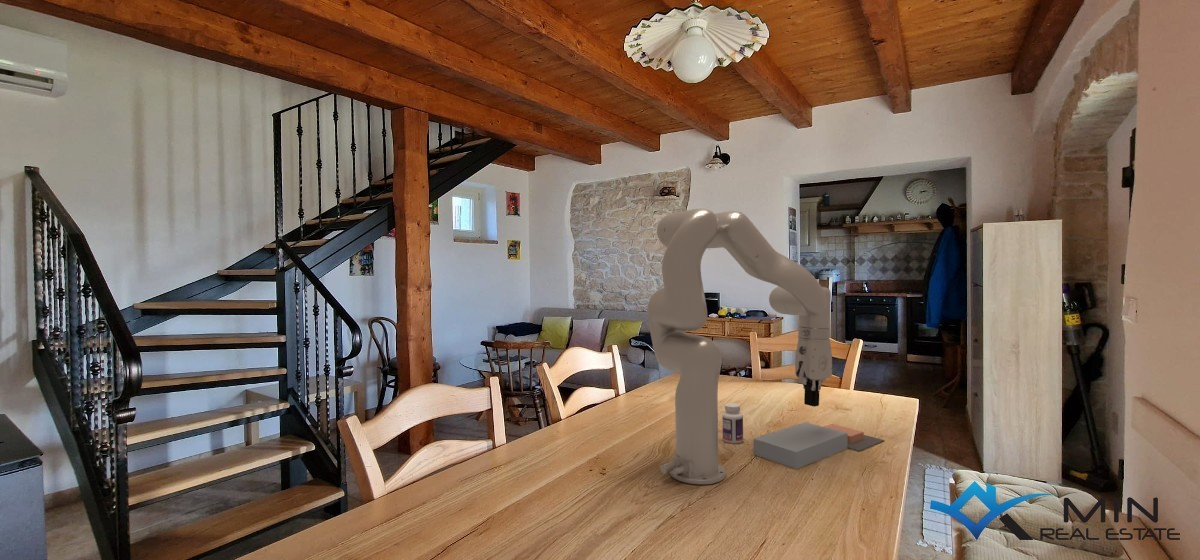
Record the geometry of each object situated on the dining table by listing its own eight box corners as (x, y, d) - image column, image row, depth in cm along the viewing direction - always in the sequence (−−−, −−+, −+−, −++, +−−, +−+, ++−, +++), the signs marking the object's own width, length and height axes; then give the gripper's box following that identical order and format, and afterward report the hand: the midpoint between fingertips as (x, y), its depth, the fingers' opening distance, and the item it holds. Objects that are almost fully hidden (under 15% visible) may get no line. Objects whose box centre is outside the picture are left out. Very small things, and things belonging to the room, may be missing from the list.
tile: (863, 432, 137) (863, 439, 137) (832, 423, 145) (832, 430, 145) (850, 436, 134) (850, 443, 134) (819, 427, 142) (819, 434, 142)
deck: (796, 469, 119) (796, 452, 119) (753, 454, 129) (753, 438, 129) (847, 448, 132) (847, 433, 131) (805, 436, 141) (805, 422, 141)
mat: (859, 451, 129) (859, 450, 129) (808, 437, 141) (808, 436, 141) (884, 441, 137) (884, 440, 137) (834, 428, 148) (834, 427, 148)
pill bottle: (741, 437, 142) (740, 402, 141) (744, 444, 136) (744, 407, 136) (721, 437, 142) (720, 402, 142) (724, 443, 137) (723, 407, 137)
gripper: (810, 337, 126) (807, 412, 126) (843, 334, 134) (841, 405, 134) (783, 333, 132) (781, 405, 132) (816, 331, 140) (814, 399, 140)
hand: (811, 405), depth 133 cm, fingers closed
